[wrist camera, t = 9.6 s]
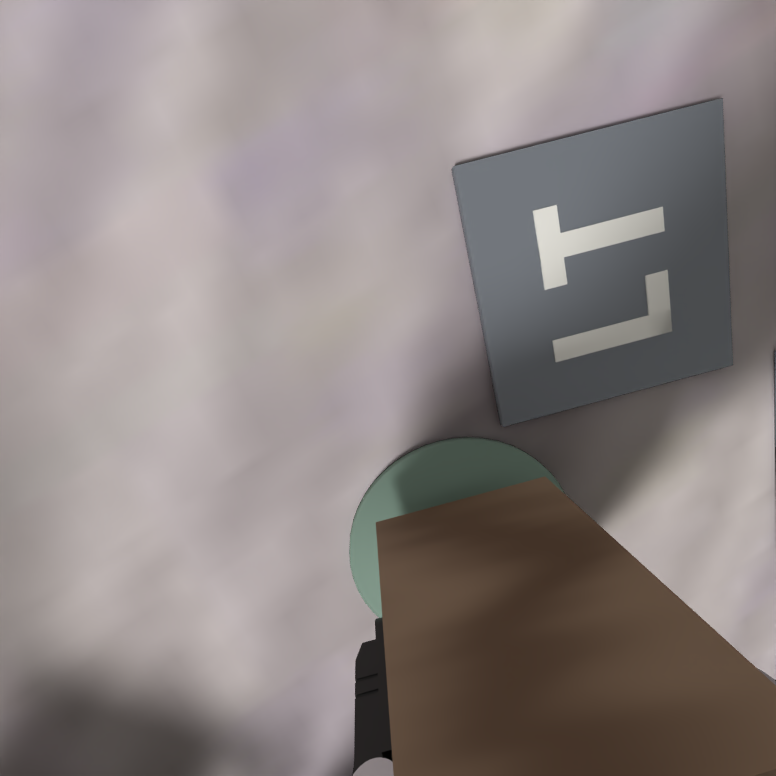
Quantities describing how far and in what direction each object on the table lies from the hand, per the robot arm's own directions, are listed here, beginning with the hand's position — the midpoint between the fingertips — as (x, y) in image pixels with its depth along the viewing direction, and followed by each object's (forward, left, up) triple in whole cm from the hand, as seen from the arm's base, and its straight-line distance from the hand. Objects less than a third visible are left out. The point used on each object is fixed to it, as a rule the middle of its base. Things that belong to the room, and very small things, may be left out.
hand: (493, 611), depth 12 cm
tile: (-7, -9, -3) cm, 12 cm away
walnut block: (0, 0, -2) cm, 2 cm away
